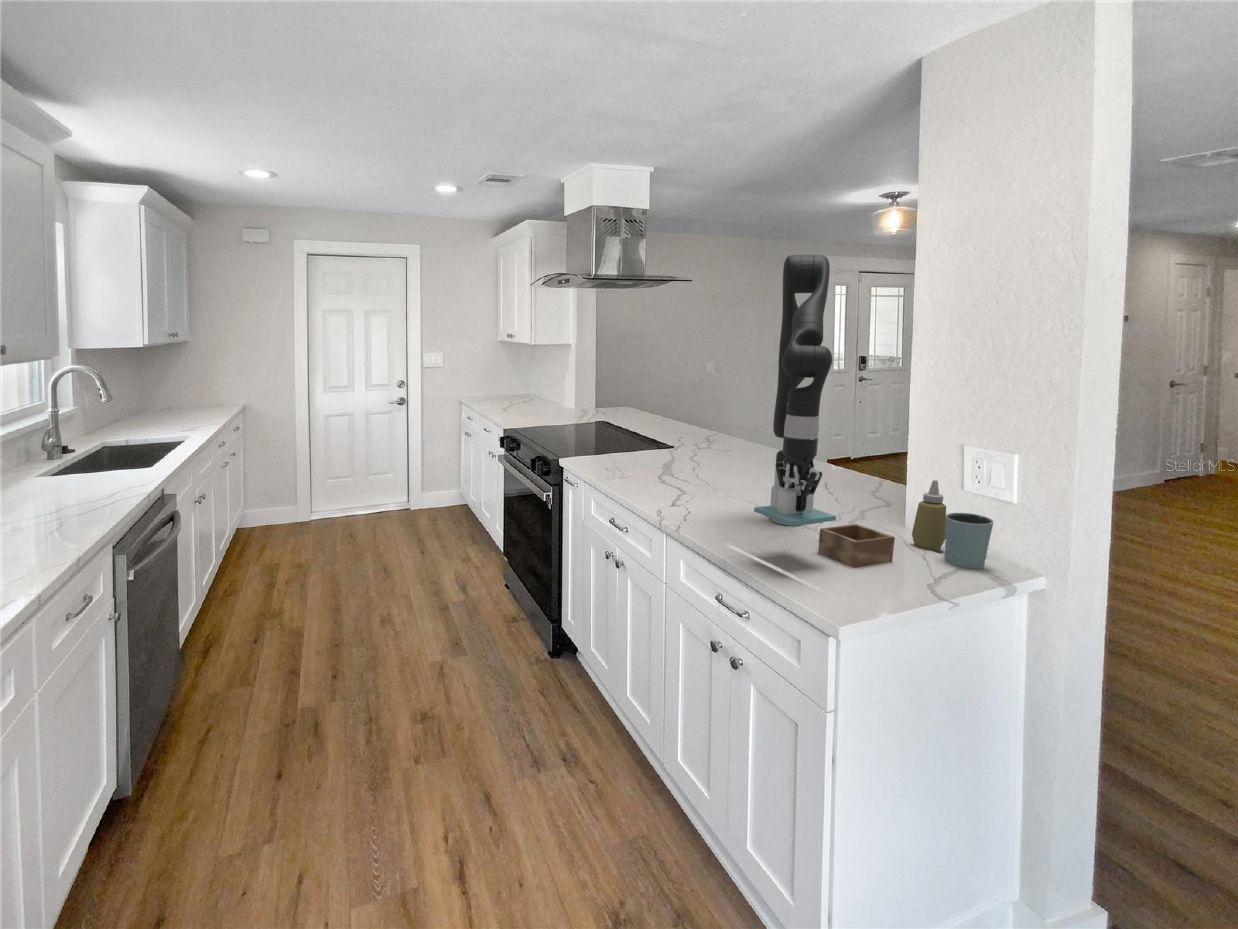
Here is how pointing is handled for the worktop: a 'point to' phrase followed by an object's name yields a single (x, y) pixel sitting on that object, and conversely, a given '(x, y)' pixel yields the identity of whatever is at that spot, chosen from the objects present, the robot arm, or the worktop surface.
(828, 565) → the worktop surface
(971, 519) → the grey-blue cup
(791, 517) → the lid
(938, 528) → the squeeze bottle
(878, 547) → the walnut box
